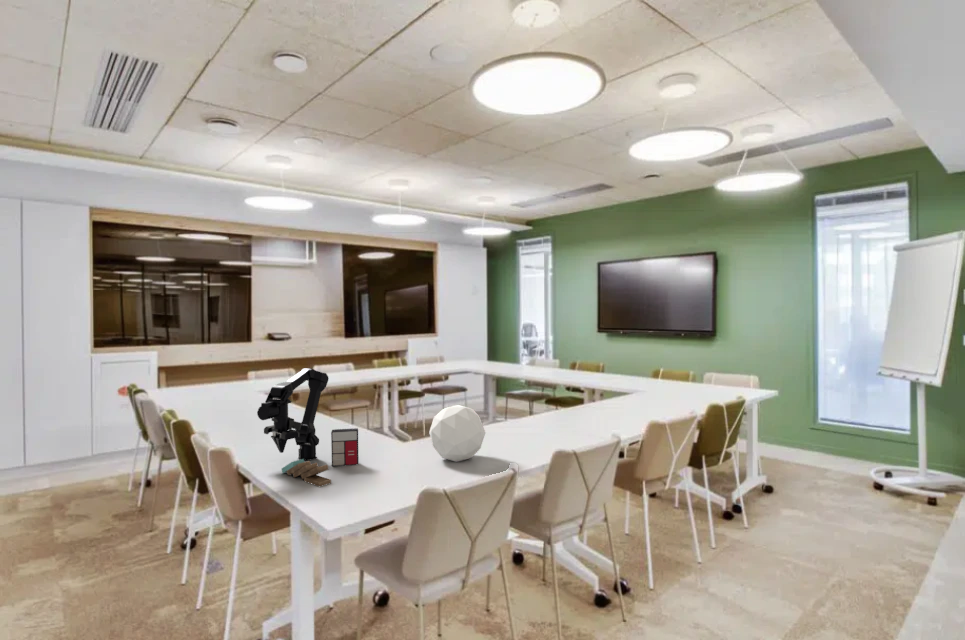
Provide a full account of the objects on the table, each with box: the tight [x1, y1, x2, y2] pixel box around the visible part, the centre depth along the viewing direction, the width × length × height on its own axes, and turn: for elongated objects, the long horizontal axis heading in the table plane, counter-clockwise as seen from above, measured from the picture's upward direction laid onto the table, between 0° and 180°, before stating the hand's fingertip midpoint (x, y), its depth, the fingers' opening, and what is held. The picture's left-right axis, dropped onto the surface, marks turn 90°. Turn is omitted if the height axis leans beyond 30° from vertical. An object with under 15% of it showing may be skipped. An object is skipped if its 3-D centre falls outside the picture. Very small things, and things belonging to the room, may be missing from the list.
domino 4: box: [300, 464, 330, 480], centre depth 206 cm, size 2×5×10 cm
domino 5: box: [303, 474, 332, 487], centre depth 203 cm, size 2×5×10 cm
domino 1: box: [281, 459, 305, 474], centre depth 214 cm, size 2×5×10 cm
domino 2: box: [286, 460, 312, 476], centre depth 211 cm, size 2×5×10 cm
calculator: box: [330, 427, 360, 467], centre depth 226 cm, size 11×4×15 cm, turn 101°
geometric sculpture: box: [428, 404, 486, 463], centre depth 233 cm, size 24×25×25 cm
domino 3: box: [292, 462, 319, 479], centre depth 209 cm, size 2×5×10 cm
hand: (281, 452), depth 221 cm, fingers closed
